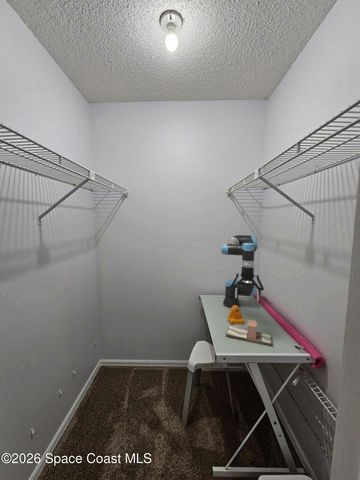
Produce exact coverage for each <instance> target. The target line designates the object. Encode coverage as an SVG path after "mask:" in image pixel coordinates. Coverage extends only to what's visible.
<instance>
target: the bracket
mask: <svg viewBox="0 0 360 480" xmlns="http://www.w3.org/2000/svg"><path fill="white" fill-rule="evenodd" d="M229 311H230V312H229V313H228V316H227V320H228V322H229V323H230V324H233V325H234V326H235V325H237V326H238V325H242V324H245V323H246V321H245V319H244V318H243V316H242V312H241V311H242V310H241V307H238V306H237V305H233V306H232V308H230V310H229Z"/></svg>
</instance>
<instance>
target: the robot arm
mask: <svg viewBox="0 0 360 480" xmlns="http://www.w3.org/2000/svg"><path fill="white" fill-rule="evenodd" d="M258 246H259V244H258V237H257V236H256V235H253V234H252V235H251V234H250V235H249V234H246V235H242V234H239V235H234V236H231V237H230V238H228V239H227V243H225V244H224V243H223V244H221V249H220V250H221V254H222V255H225V256H228V255H229V256H241V257H242V258H241V273H240V272H236V275H235V278H233V279H227V280H226V281H225V286H224V287H225V289H224V291H225V293H224V294H225V296H224V297H223V298H224V299H223V301H222V302H223V303H222V305H223V306H224V307H226V308H229V309H231V308H232V306H233V305H237V306H238V307H239V308H241V302H240V299H239V296H245V297H255V295H256V301H257V302H259V298H260V296H261V294H262V293H261V292H262V291H264V290H265V288H264V285H263V284H262V282H261V279H260V276H259V274H255V271H254V269H255V268H254V267H255V253H256V252H257V250H258V249H259V247H258ZM239 277H241V278H240V279H238V278H239ZM254 278H255V279H257V282H256V280H255V279H254Z"/></svg>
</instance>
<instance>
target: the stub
mask: <svg viewBox="0 0 360 480" xmlns="http://www.w3.org/2000/svg"><path fill="white" fill-rule="evenodd" d="M257 327H258V325H257V320H254V319H248V324H247V330H248V338H252V339H256V332H257Z"/></svg>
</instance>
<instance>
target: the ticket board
mask: <svg viewBox="0 0 360 480" xmlns="http://www.w3.org/2000/svg"><path fill="white" fill-rule="evenodd" d="M225 337H226V338H229V339H232V340H233V339H234V340H238V341H239V340H240V341H243V342H248V343H252V344H257V345H263V346H266V347H273V346H274V345H273V335H272V334H270V333H265V332H259V331H256V339H252V338H248V328H246V329H245V328H241V327H234V326H228V327H227V329H226V333H225Z"/></svg>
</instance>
